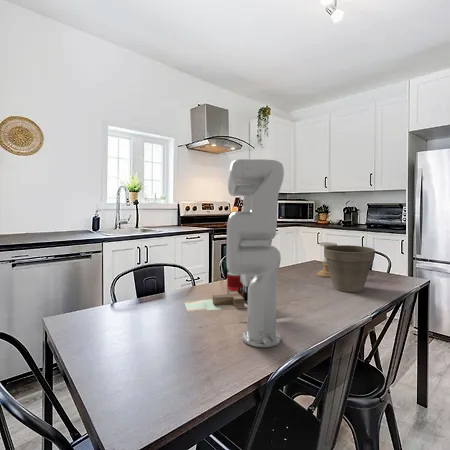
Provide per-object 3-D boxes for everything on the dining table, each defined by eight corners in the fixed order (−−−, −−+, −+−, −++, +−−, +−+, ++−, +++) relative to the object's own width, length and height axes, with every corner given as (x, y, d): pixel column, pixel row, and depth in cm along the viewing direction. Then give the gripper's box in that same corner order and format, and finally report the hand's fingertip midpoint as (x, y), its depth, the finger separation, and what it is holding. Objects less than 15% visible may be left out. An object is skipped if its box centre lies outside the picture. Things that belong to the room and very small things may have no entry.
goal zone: (221, 312, 131) (221, 309, 131) (187, 314, 128) (187, 312, 127) (214, 301, 144) (214, 299, 144) (183, 303, 141) (183, 301, 141)
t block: (244, 306, 134) (244, 298, 134) (216, 308, 131) (216, 300, 131) (236, 298, 146) (236, 290, 146) (210, 300, 143) (210, 292, 143)
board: (249, 310, 134) (249, 307, 134) (187, 314, 128) (187, 312, 127) (239, 299, 147) (239, 297, 147) (183, 303, 141) (183, 301, 141)
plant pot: (324, 293, 159) (325, 250, 157) (321, 281, 183) (322, 244, 181) (378, 297, 153) (380, 252, 151) (368, 284, 177) (369, 245, 175)
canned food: (242, 297, 151) (242, 275, 150) (225, 296, 152) (225, 274, 151) (244, 293, 158) (244, 271, 157) (228, 292, 160) (228, 270, 159)
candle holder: (312, 274, 201) (313, 242, 200) (329, 272, 205) (330, 241, 203) (324, 278, 190) (325, 245, 188) (341, 277, 193) (343, 244, 192)
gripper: (261, 262, 133) (260, 305, 134) (250, 256, 147) (250, 295, 149) (244, 263, 131) (243, 306, 133) (234, 257, 146) (234, 296, 147)
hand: (247, 300), depth 141 cm, fingers closed
